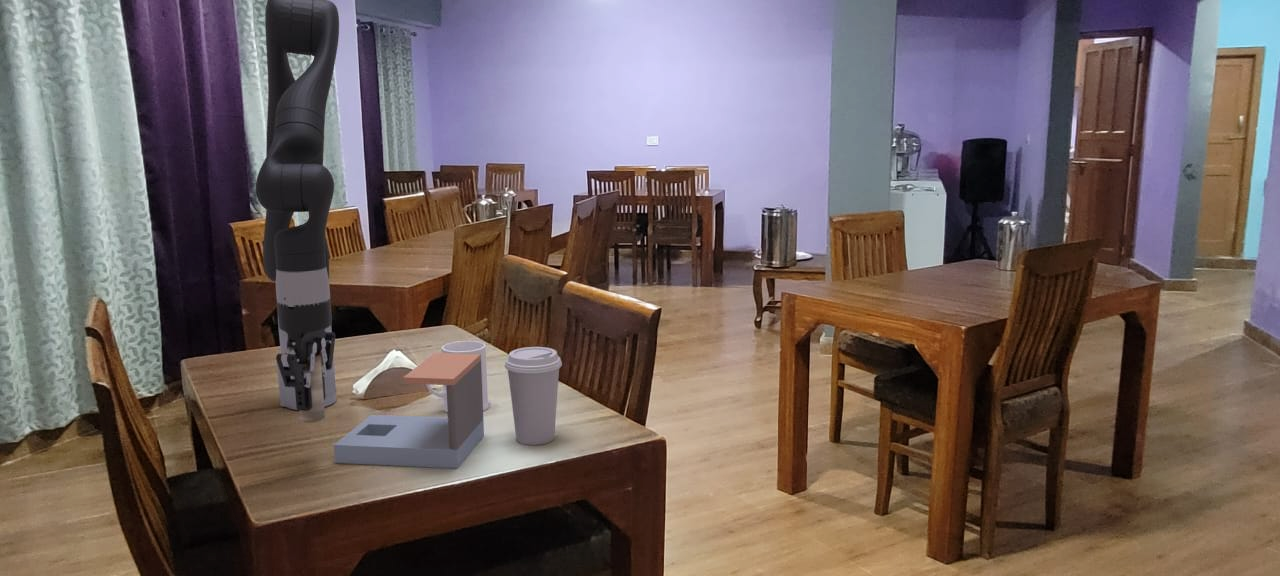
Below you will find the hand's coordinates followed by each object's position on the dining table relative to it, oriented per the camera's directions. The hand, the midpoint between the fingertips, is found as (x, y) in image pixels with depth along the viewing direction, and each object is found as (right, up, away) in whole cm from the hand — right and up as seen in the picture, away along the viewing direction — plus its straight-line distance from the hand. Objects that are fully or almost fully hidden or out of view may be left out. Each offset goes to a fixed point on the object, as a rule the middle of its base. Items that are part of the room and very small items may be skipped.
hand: (311, 404), depth 131 cm
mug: (+17, -5, +28) cm, 33 cm away
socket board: (+13, -8, +8) cm, 18 cm away
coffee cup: (+33, -8, +13) cm, 36 cm away
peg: (0, -2, 0) cm, 2 cm away
